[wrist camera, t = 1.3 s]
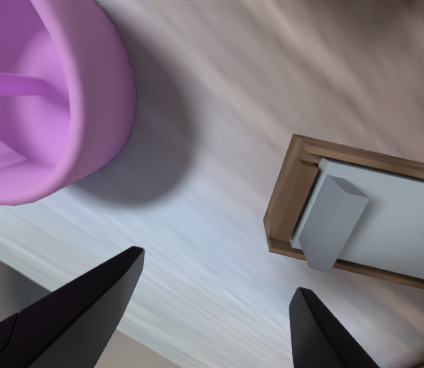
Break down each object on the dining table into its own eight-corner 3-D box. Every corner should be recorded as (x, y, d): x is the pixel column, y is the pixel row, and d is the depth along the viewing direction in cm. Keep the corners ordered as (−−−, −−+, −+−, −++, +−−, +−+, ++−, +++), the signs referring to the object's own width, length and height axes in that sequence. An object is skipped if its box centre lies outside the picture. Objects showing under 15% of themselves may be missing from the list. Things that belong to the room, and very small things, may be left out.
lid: (483, 193, 14) (568, 227, 11) (424, 270, 17) (476, 319, 13) (322, 156, 15) (350, 177, 11) (288, 237, 17) (302, 276, 13)
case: (449, 169, 17) (516, 192, 13) (394, 251, 20) (434, 291, 16) (293, 133, 17) (309, 145, 13) (263, 220, 20) (269, 251, 16)
